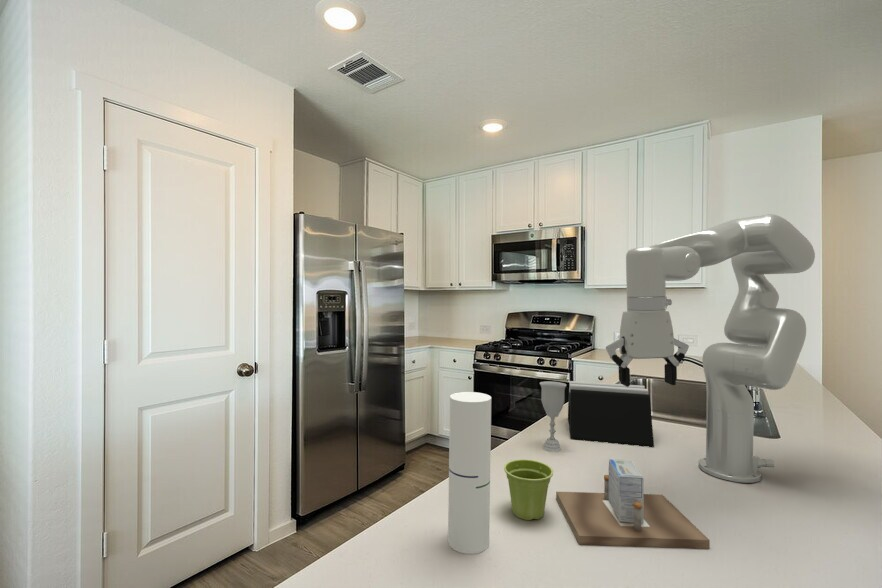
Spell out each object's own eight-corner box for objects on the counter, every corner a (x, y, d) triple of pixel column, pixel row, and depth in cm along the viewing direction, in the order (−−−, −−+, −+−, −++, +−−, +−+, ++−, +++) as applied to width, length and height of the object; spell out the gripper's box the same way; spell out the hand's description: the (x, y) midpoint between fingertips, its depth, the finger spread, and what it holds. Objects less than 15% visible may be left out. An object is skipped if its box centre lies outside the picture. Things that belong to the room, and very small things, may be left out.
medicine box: (644, 525, 75) (644, 476, 75) (617, 522, 76) (618, 474, 76) (631, 503, 83) (631, 459, 83) (607, 501, 83) (608, 458, 83)
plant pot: (543, 531, 75) (544, 483, 75) (495, 516, 80) (496, 471, 80) (558, 509, 83) (559, 466, 83) (514, 496, 88) (514, 455, 88)
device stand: (567, 418, 145) (568, 376, 145) (637, 424, 139) (638, 380, 139) (570, 440, 124) (571, 390, 124) (653, 448, 118) (654, 396, 118)
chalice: (536, 450, 114) (537, 385, 114) (540, 442, 121) (541, 380, 121) (564, 454, 112) (565, 387, 112) (566, 446, 118) (567, 382, 118)
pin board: (662, 501, 87) (662, 472, 87) (709, 548, 71) (709, 512, 71) (556, 498, 87) (556, 469, 87) (579, 544, 71) (579, 509, 71)
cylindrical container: (446, 529, 75) (448, 392, 75) (484, 528, 76) (486, 391, 76) (450, 554, 68) (452, 402, 68) (493, 553, 69) (495, 402, 69)
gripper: (676, 303, 93) (678, 379, 93) (599, 305, 93) (600, 381, 93) (697, 304, 85) (698, 387, 86) (612, 307, 85) (614, 390, 86)
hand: (647, 384), depth 89 cm, fingers open, 9 cm apart
